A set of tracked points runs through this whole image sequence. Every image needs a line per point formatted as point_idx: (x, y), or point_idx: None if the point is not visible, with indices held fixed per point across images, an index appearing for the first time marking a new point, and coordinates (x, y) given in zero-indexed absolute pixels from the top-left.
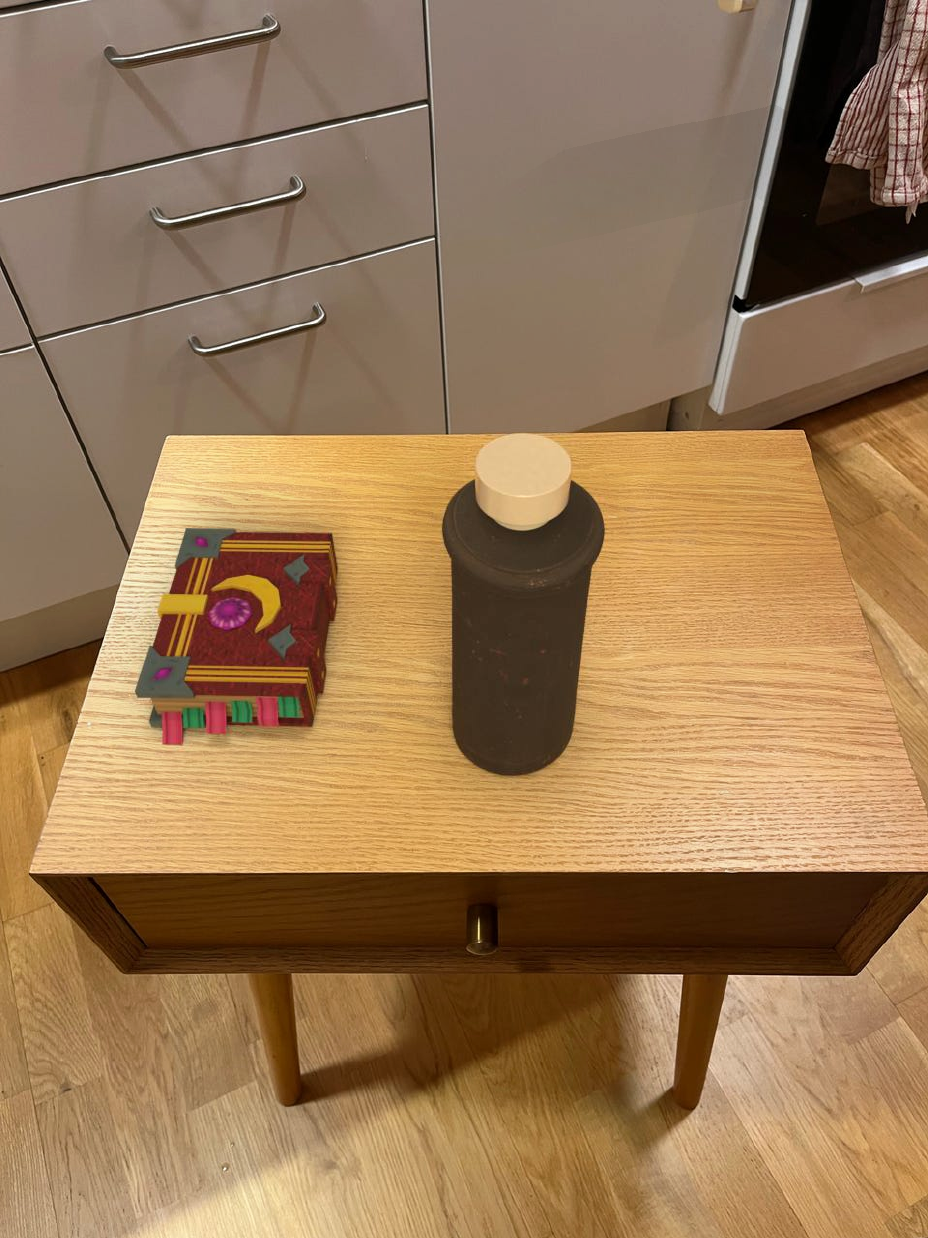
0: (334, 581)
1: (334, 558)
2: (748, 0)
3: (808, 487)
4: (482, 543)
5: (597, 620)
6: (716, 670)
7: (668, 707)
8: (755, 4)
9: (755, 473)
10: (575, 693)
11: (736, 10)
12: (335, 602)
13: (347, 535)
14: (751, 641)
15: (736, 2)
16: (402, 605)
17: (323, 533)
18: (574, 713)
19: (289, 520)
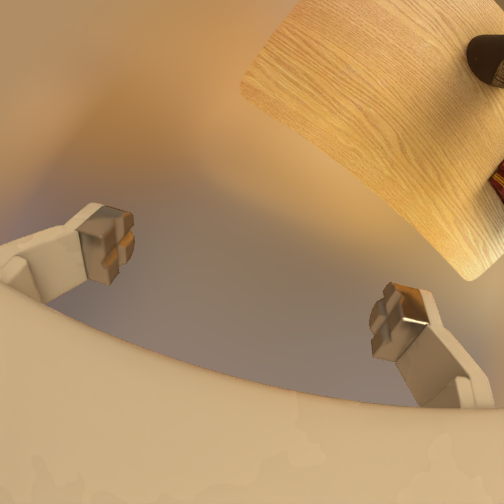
0: (496, 174)
1: (495, 182)
2: (411, 294)
3: (256, 58)
4: None
5: (427, 66)
6: (400, 6)
7: (433, 12)
8: (395, 284)
9: (274, 84)
10: (495, 35)
11: (424, 290)
12: (502, 164)
13: (471, 194)
14: (373, 4)
15: (432, 299)
16: (483, 143)
17: (501, 192)
18: (483, 36)
19: (478, 219)
